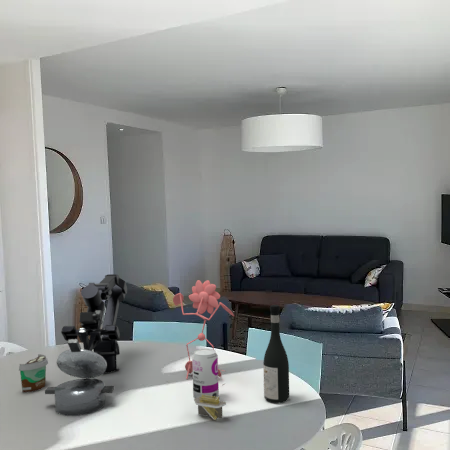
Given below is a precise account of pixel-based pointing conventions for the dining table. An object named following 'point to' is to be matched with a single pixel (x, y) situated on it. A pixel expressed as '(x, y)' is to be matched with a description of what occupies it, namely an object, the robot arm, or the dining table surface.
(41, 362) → the food container
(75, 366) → the cooker lid
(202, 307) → the figurine
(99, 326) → the robot arm
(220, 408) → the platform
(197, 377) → the supplement can
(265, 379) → the wine bottle
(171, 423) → the dining table surface
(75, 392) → the cooker pot
